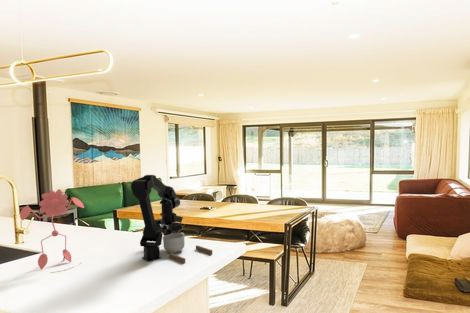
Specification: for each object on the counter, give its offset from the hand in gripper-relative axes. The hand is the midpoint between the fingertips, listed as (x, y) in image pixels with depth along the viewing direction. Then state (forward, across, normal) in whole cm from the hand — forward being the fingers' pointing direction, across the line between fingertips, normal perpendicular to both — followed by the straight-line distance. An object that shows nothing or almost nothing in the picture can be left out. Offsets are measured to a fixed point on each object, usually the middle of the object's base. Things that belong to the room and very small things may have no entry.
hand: (168, 240), depth 180 cm
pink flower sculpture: (+4, +13, +50) cm, 52 cm away
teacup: (+4, -8, 0) cm, 8 cm away
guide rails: (+3, -20, 0) cm, 20 cm away
